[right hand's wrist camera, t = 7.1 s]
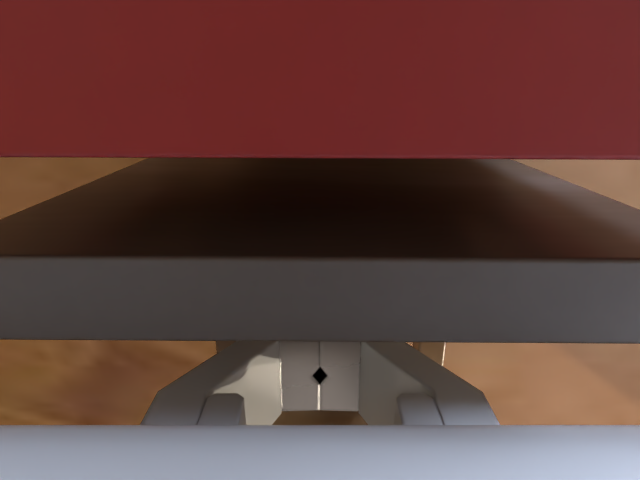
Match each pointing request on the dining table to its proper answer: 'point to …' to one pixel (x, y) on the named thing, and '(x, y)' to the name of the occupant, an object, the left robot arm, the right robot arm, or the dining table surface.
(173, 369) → the dining table surface
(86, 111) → the cabinet
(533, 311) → the drawer
